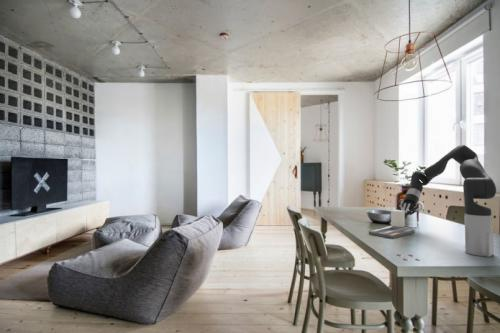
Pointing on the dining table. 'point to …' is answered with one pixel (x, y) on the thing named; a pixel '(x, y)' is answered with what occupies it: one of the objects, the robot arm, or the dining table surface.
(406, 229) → the grey tray
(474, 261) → the dining table surface
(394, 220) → the white upright block
